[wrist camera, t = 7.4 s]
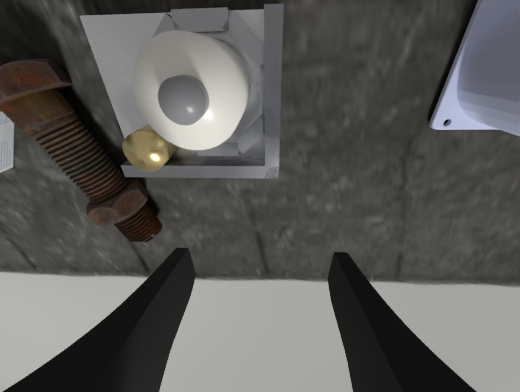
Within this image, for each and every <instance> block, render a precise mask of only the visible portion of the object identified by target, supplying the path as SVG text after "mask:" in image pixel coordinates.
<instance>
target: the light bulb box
mask: <svg viewBox="0 0 520 392" xmlns="http://www.w3.org/2000/svg"><path fill="white" fill-rule="evenodd" d="M13 152H14V123H13V122H12V121H11V120H10V119H9V118H8V117H7V116H6V115H5V114H4V113H3V112H2V111H1V112H0V173H1V172H3V171H5V170H8V169H10V168H12V167H13Z"/></svg>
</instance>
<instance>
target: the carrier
mask: <svg viewBox="0 0 520 392" xmlns="http://www.w3.org/2000/svg"><path fill="white" fill-rule="evenodd" d="M283 12H284V4H264V9H258V10H230V9H229V8H228V7H223V8H195V9H171V13H143V14H114V15H86V16H80V19H81V21H82V24H83V27H84V30H85V32H86V35H87V38H88V41H89V43H90V46H91V49H92V51H93V54H94V57H95V60H96V62H97V65H98V68H99V71H100V73H101V76H102V79H103V82H104V84H105V87H106V90H107V92H108V95H109V98H110V101H111V103H112V106H113V109H114V112H115V114H116V117H117V120H118V122H119V125H120V128H121V131H122V133H123V136H124V141H123V151H124V154H125V156H126V158H127V159H128V160H127V161H126V162H125V163H123V164H122V165H121V168H122V170H123V173H124V175H125V177H176V178H278V177H279V144H280V111H281V78H282V45H283ZM172 30H183V31H188V32H193V33H197V34H201V35H205V36H209V37H213V38H217V39H220V40H222V41H224V42H226V43H228V44H230V45H231V46H232V47H234V48H235V49H236V50H237V51H238V52H239V54H240V55H241V56H242V58H243V59H244V61H245V63H246V65H247V67H248V69H249V72H250V76H251V83H252V90H251V96H250V100H249V103H248V105H247V107H246V109H245V111H244V113H243V115H242V117H241V119H240V121H239V123H238V125H237V127H236V129H235V131H234V132H233V133H232V135H231V136H230V137H229V138H228V139H227V140H226V141H224V142H223V143H222V144H220V145H218V146H216V147H213V148H211V149H206V150H190V149H185V148H181V147H179V146H176V145H174V144H172V143H170V142H168V141H167V140H165V139H164V138H162V137H161V136H160V135H159V134H158V133H157V132H156V131H155V130H154V129H153V128H152V127H151V126H150V125H149V124H148V122H147V121H146V119H145V118H144V116H143V115H142V113H141V111H140V109H139V107H138V104H137V102H136V98H135V95H134V89H133V68H134V64H135V61H136V58H137V56H138V54H139V52H140V50H141V48H142V47H143V46H144V45H145V44H146V42H148V41H149V40H150V39H151V38H153V37H154V36H156V35H158V34H160V33H163V32H166V31H172Z"/></svg>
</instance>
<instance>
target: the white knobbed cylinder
mask: <svg viewBox="0 0 520 392" xmlns="http://www.w3.org/2000/svg"><path fill="white" fill-rule="evenodd" d="M133 89H134V95H135V98H136V102H137V104H138V107H139V109H140V111H141V113H142V115H143V116H144V118H145V119H146V121H147V122H148V124H149V125H150V126H151V127H152V128H153V129H154V130H155V131H156V132H157V133H158V134H159V135H160V136H161V137H162V138H164V139H165V140H167V141H168V142H170V143H172V144H174V145H176V146H179V147H181V148H185V149H190V150H206V149H211V148H213V147H216V146H218V145H220V144H222V143H223V142H224V141H226V140H227V139H228V138H229V137H230V136H231V135H232V133H233V132H234V131H235V129H236V127H237V125H238V123H239V121H240V119H241V117H242V115H243V113H244V111H245V109H246V107H247V105H248V103H249V100H250V96H251V90H252V83H251V76H250V72H249V69H248V67H247V65H246V63H245V61H244V59H243V58H242V56H241V55H240V54H239V52H238V51H237V50H236V49H235V48H234V47H232V46H231V45H230V44H228V43H226V42H224V41H222V40H220V39H217V38H213V37H209V36H205V35H201V34H197V33H193V32H188V31H183V30H172V31H166V32H163V33H160V34H158V35H156V36H154V37H153V38H151V39H150V40H149V41H148V42H146V44H145V45H144V46H143V47H142V48H141V50H140V52H139V54H138V56H137V58H136V61H135V64H134V68H133Z"/></svg>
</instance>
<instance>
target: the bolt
mask: <svg viewBox="0 0 520 392" xmlns="http://www.w3.org/2000/svg"><path fill="white" fill-rule="evenodd" d="M70 85H72V82H71V81H70V80H69V78H68V77H67V75H66V74H65V73H64V71H63V70H62V69H61V67H60V66H59V65H58V64H57V63H55V62H54V61H53V60H51V59H48V58H45V59H29V60H20V61H13V62H10V63H6V64H3V65H0V112H1V111H2V112H3V113H4V114H5V115H6V116H7V117H8V118H9V119H10V120H11V121H12V122H13V123H14V124H15V125H16V126H17V127H18V128H19V129H20V130H21V131H22V132H24V133H26V134H27V135H28V136H30V138H31V139H32V140H37V141H36V144H40V145H41V146H40V148H42V149H45V150H44V152H45V153H49V154H48V155H47V156H48V157H52V159H51V160H52V161H56V163H55V164H57V165H60V166H59V168H63V171H62V172H67V174H66V176H70V178H69V179H70V180H73V183H77V185H76V186H78V187H79V186H81V187H80V190H83V193H87V194H86V196H87V197H89V200H91V201H90V202H89V203H88V205H87V209H86V210H87V215H88V216H89V217H90V218H91V219H92V220H93V221H94V222H95V223H96V224H97V225H111V224H114V225H115V226H116V228H118V229H119V231H121V233H122V234H124V236H125V237H126V238H127V239H128V240H129V241H131V242H140V243H149V242H151V241H152V240H153V238H154V237H151V236H152V235H157V236H158V235H159V233H160V232H161V228H162V224H161V223H160V221H159V220H158V218H157V217H156V215H154V213H153V212H152V211H151V210H150V208H149V207H148V205H146V201H147V200H148V194H147V191H146V189H145V188H144V187H143V185H142V184H141V183H140V181H139V180H138V179H128V180H127V179H125V176H122V175H123V173H120V170H119V169H117V166H114V164H115V163H111V162H112V160H111V159H109V156H106V152H103V149H100V147H101V146H100V145H97V143H98V142H97V141H93V140H94V137H90V136H91V133H87V132H88V129H84V127H85V126H84V125H80V124H81V121H79V120H78V117H77V115H76V114H75V111H74V109H73V108H72V107H71V106H70V104H69V103H68V102H67V100H66V99H65V98H64V96H63V95H62V94H61V93H60V90H62V89H64V88H66V87H68V86H70Z"/></svg>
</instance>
